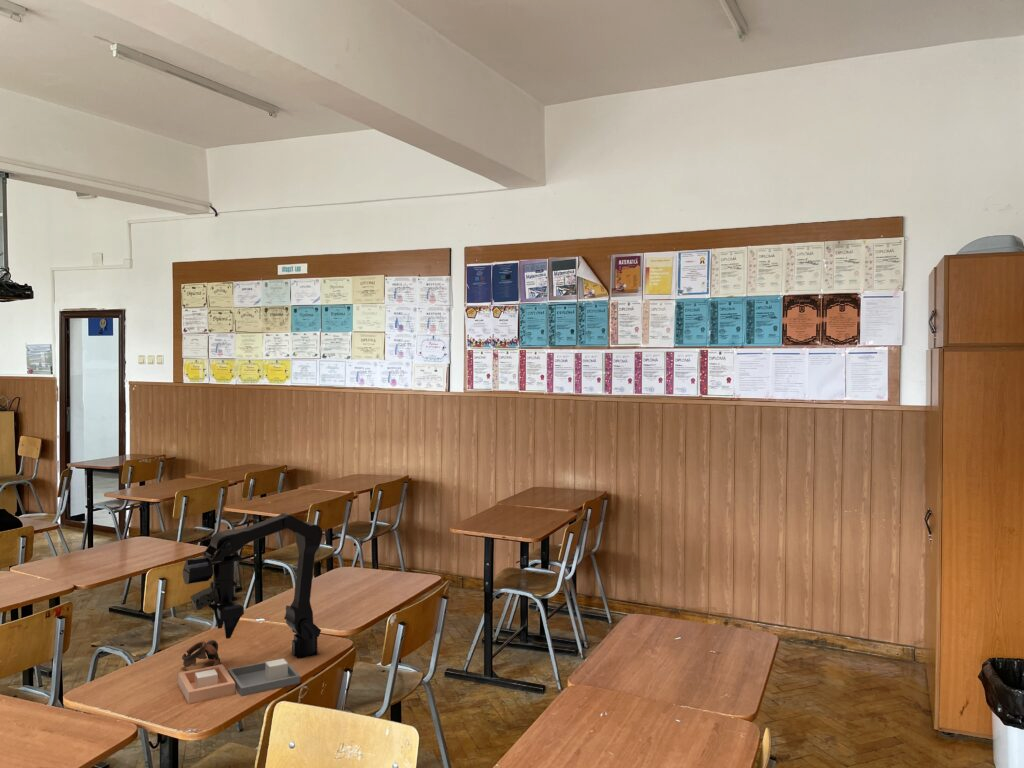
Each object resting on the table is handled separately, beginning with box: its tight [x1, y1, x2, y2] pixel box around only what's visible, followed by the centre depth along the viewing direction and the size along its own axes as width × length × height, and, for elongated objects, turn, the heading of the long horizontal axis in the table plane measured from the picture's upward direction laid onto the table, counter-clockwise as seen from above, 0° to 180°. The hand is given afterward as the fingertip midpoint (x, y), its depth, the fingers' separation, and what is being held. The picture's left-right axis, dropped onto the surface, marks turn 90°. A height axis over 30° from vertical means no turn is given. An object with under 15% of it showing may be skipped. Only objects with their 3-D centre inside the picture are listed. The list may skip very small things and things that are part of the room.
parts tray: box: [227, 657, 301, 697], centre depth 207 cm, size 16×15×3 cm
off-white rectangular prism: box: [264, 658, 289, 681], centre depth 209 cm, size 5×4×4 cm
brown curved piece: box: [181, 639, 222, 668], centre depth 217 cm, size 12×10×8 cm
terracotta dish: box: [177, 663, 236, 705], centre depth 201 cm, size 11×14×4 cm
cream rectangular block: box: [195, 669, 218, 689], centre depth 201 cm, size 5×4×4 cm
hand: (223, 633), depth 211 cm, fingers open, 9 cm apart
